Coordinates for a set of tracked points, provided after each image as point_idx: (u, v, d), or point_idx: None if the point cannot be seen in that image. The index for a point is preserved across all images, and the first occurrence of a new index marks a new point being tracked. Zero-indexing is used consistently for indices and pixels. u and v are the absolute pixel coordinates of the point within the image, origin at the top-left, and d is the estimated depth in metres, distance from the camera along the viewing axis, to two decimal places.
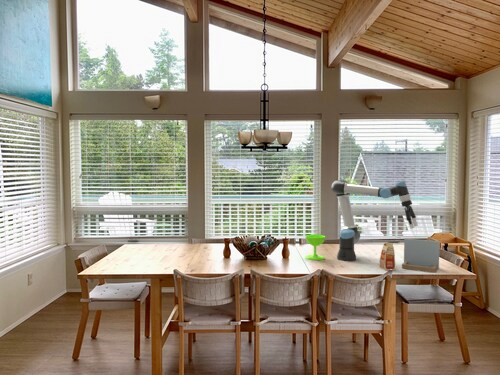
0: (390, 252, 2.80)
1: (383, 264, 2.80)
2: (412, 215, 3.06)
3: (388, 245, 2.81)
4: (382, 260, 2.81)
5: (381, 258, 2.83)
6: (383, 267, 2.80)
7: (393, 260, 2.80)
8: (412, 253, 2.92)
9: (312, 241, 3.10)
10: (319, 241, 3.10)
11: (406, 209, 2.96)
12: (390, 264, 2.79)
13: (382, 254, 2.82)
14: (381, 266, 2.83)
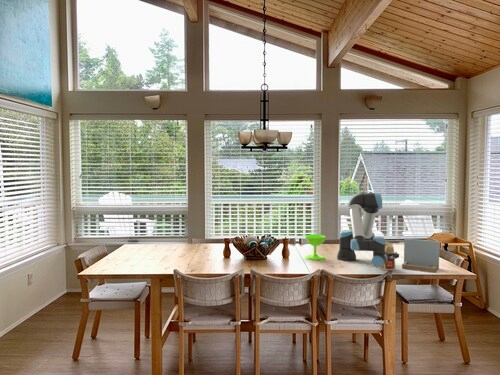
0: (390, 252, 2.80)
1: (383, 264, 2.80)
2: None
3: (388, 245, 2.81)
4: None
5: None
6: (383, 267, 2.80)
7: (393, 260, 2.80)
8: (412, 253, 2.92)
9: (312, 241, 3.10)
10: (319, 241, 3.10)
11: None
12: (390, 264, 2.79)
13: None
14: (381, 266, 2.83)
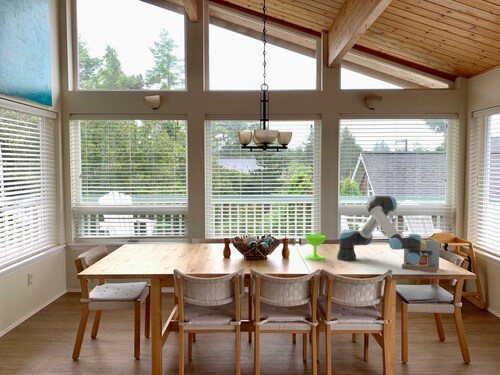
0: (423, 248, 2.82)
1: None
2: None
3: (421, 241, 2.83)
4: None
5: None
6: (416, 263, 2.81)
7: (426, 256, 2.82)
8: None
9: (312, 241, 3.10)
10: (319, 241, 3.10)
11: None
12: (423, 260, 2.81)
13: None
14: None
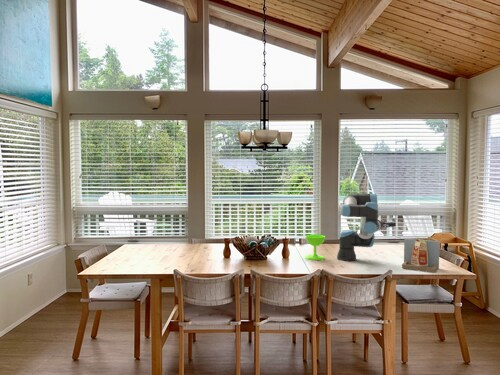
0: (423, 248, 2.82)
1: (416, 260, 2.82)
2: None
3: (421, 241, 2.83)
4: (415, 256, 2.83)
5: (413, 254, 2.85)
6: (416, 263, 2.81)
7: (426, 256, 2.82)
8: None
9: (312, 241, 3.10)
10: (319, 241, 3.10)
11: None
12: (423, 260, 2.81)
13: (415, 250, 2.84)
14: (413, 262, 2.84)
